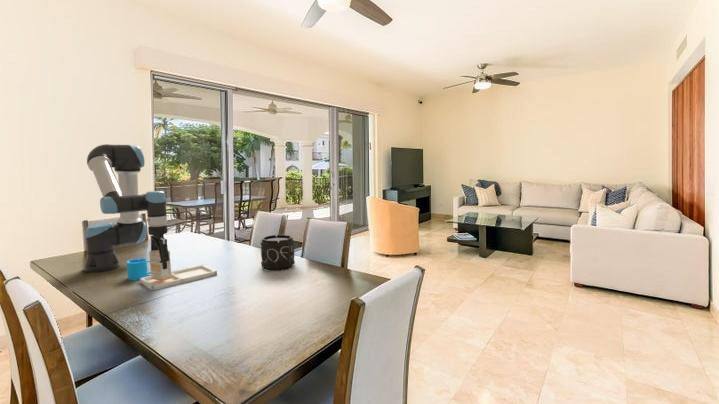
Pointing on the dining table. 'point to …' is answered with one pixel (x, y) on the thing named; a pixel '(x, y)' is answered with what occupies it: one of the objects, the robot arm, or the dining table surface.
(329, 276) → the dining table surface
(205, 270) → the organiser tray
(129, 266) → the mug
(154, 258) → the supplement box
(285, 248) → the black cylindrical pot
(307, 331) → the dining table surface
